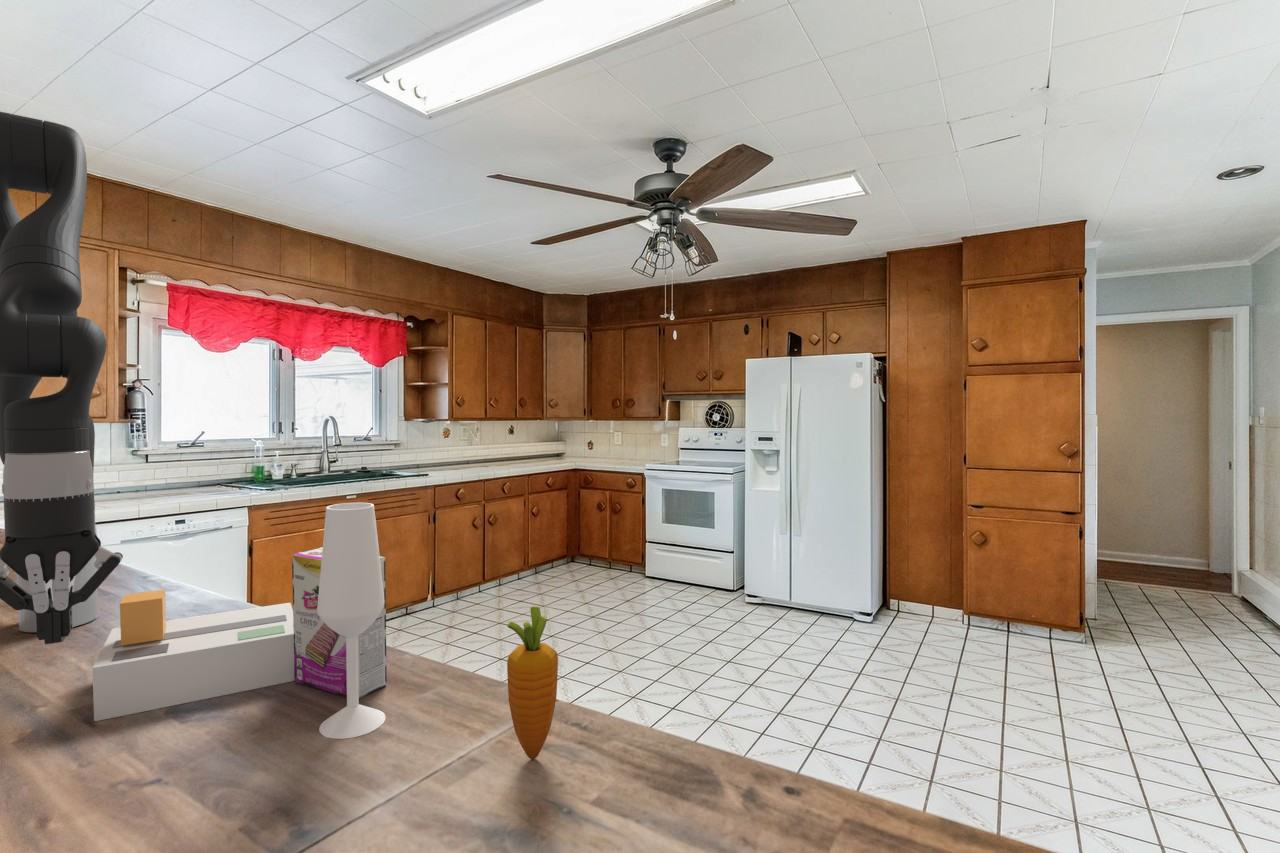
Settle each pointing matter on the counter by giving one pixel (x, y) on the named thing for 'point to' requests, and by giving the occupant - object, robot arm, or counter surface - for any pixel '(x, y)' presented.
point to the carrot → (532, 684)
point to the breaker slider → (143, 617)
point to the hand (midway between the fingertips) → (55, 641)
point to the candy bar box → (331, 636)
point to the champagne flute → (350, 602)
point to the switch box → (195, 661)
